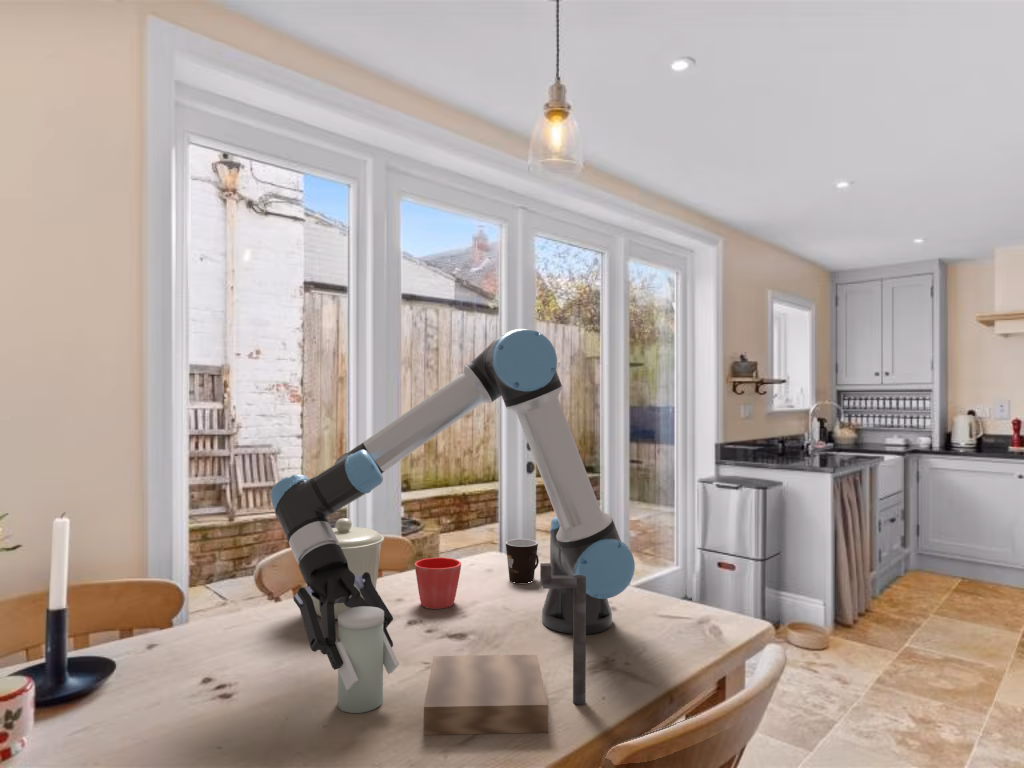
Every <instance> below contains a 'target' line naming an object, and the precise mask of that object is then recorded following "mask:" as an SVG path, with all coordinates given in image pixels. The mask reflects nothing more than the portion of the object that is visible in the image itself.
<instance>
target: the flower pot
mask: <svg viewBox="0 0 1024 768" xmlns="http://www.w3.org/2000/svg"><path fill="white" fill-rule="evenodd" d="M414 568H415V569H414V570H415V576H416V582H417V589H418V595H419V600H420V605H421V607H424V608H426V609H431V610H441V609H442V610H443V609H447V608H450V607H452V606H453V605H454V604H455V600H456V595H457V592H458V591H457V590H458V586H459V580H460V575H461V568H462V562H461V561H460V560H458V559H455V558H451V557H450V558H449V557H429V558H424V559H420V560H418V561H416V562H415V563H414Z"/></svg>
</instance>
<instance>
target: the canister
mask: <svg viewBox="0 0 1024 768" xmlns="http://www.w3.org/2000/svg"><path fill="white" fill-rule="evenodd" d="M352 525H353V523H352V521H351V520H350V519H349V518H348V517H347V518H346V517H341V518H339V519H338V520H337V521H336V522H335V527H331V528H332V530H333V532H334V534H335V536H336V538H337V540H338V545H339V546H340V547H341V549H342V551H343V553H344V555H345V557H346V559H347V563H348V568H349V570H350V571H351V572H352V573H353V574H354V575H363V574H364V573H365V572H368V573H369V574H370V577H371V581H372V584H373V586H374V587H375V589H376V588H377V581H378V574H379V565H380V557H381V556H380V555H381V550H382V549H381V548H382V543H383V542H384V541H385V536H384V535H383V534H381V533H379V532H378V531H376V530H374V529H371V528H367V527H358V526H352ZM354 586H355V587H356V588H357V585H356V584H354ZM376 590H377V589H376ZM358 591H359V592H360V589H358ZM360 596H361V597H362V598H363V596H362V595H361V592H360ZM349 598H351V596H350V597H349ZM363 599H364V598H363ZM312 600H313V603H314V607H315V610H316V613H317V617H319V618H321V612H320V606H319V600H318V599H316V598H315V597H313V596H312ZM349 608H350V607H347V606H346V605H345V604H344V603H336V604H335V605H334V615H335V620H338V614H339V613H340V612H341V611H343V610H346V609H349Z"/></svg>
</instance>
